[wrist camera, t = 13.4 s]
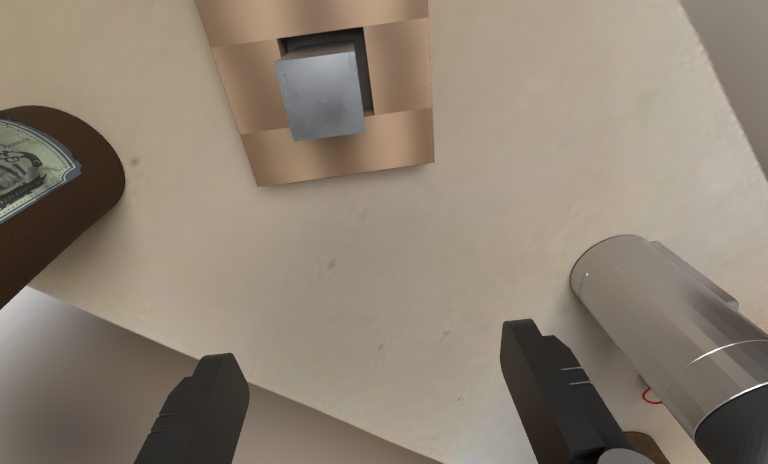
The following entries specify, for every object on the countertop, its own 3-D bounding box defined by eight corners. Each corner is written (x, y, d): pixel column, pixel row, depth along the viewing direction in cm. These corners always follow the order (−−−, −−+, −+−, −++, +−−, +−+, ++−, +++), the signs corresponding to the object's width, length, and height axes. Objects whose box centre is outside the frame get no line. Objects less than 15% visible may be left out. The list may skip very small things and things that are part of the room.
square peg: (353, 38, 26) (354, 51, 17) (361, 96, 28) (365, 132, 19) (299, 45, 26) (273, 62, 17) (311, 102, 28) (293, 141, 19)
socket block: (415, -57, 23) (424, -68, 20) (426, 147, 31) (434, 162, 28) (205, -28, 23) (183, -34, 20) (267, 170, 31) (258, 187, 28)
